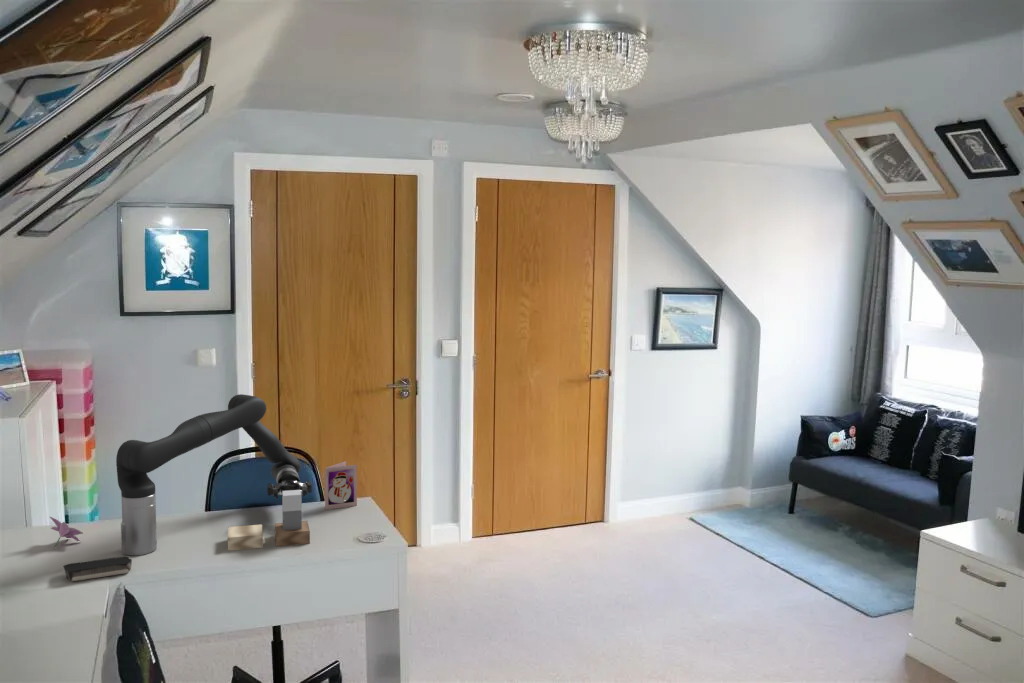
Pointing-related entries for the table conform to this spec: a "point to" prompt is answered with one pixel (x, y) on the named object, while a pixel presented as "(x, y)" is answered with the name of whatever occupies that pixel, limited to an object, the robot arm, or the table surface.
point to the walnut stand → (292, 535)
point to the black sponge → (97, 568)
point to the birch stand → (245, 537)
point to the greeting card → (340, 486)
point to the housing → (292, 509)
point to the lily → (65, 530)
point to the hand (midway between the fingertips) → (290, 494)
